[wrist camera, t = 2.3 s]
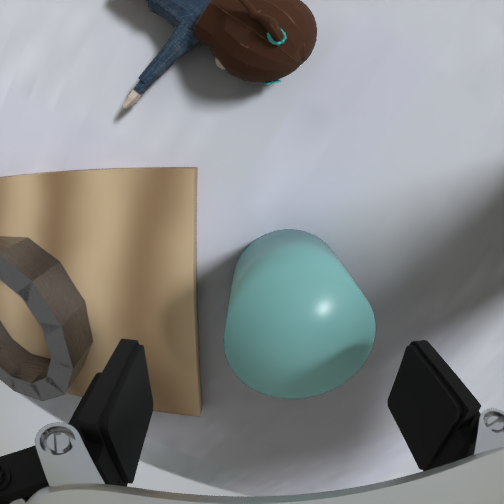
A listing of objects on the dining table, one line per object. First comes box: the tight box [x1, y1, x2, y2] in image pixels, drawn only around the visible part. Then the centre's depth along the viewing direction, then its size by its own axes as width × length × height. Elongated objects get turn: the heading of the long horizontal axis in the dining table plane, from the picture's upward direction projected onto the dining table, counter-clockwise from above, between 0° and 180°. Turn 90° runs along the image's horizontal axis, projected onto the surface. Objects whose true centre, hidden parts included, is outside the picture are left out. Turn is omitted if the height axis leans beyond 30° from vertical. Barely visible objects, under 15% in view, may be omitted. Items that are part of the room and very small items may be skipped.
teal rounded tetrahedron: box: [224, 229, 376, 399], centre depth 15 cm, size 6×6×6 cm
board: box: [0, 167, 202, 417], centre depth 17 cm, size 18×16×1 cm
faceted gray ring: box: [0, 236, 93, 401], centre depth 16 cm, size 10×10×3 cm
